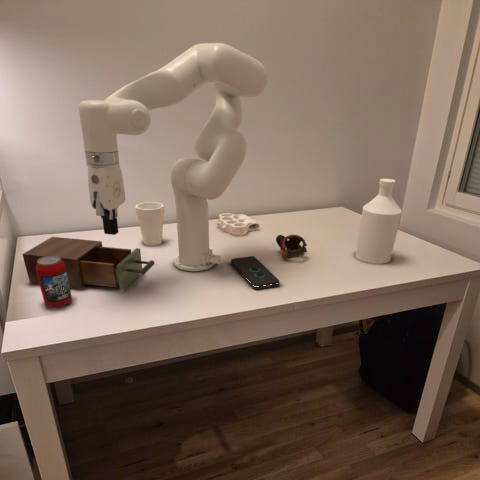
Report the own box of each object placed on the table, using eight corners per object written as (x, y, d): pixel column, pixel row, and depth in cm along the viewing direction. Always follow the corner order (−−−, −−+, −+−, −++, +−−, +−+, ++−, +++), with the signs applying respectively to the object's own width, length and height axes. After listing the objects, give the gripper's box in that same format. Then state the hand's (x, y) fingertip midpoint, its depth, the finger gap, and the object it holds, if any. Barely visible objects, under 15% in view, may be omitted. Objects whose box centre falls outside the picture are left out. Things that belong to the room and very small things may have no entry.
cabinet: (106, 269, 128) (101, 241, 123) (82, 289, 116) (76, 259, 111) (58, 264, 131) (52, 236, 126) (30, 283, 119) (22, 254, 114)
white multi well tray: (263, 232, 159) (227, 237, 154) (244, 219, 173) (210, 223, 168) (263, 224, 157) (227, 228, 152) (244, 211, 171) (210, 214, 166)
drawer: (159, 273, 124) (157, 250, 121) (142, 292, 113) (139, 268, 110) (96, 266, 128) (92, 244, 124) (73, 284, 117) (68, 260, 113)
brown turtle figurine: (311, 255, 142) (313, 239, 135) (295, 273, 139) (296, 258, 131) (282, 239, 146) (283, 223, 139) (266, 256, 143) (266, 241, 136)
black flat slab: (254, 285, 117) (229, 258, 133) (253, 290, 117) (229, 263, 133) (280, 280, 119) (254, 255, 135) (280, 286, 120) (253, 260, 136)
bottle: (362, 247, 147) (375, 174, 134) (396, 255, 142) (413, 179, 129) (349, 258, 139) (361, 180, 126) (384, 267, 133) (401, 187, 120)
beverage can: (54, 311, 105) (43, 267, 99) (39, 303, 109) (28, 260, 103) (77, 301, 110) (69, 259, 104) (62, 294, 114) (53, 252, 107)
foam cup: (133, 244, 146) (129, 207, 139) (148, 236, 154) (145, 200, 147) (157, 248, 143) (154, 211, 136) (171, 240, 151) (168, 204, 144)
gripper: (102, 165, 93) (112, 244, 102) (130, 155, 105) (136, 226, 115) (71, 162, 94) (83, 241, 103) (102, 153, 107) (111, 223, 116)
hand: (111, 233), depth 109 cm, fingers closed
